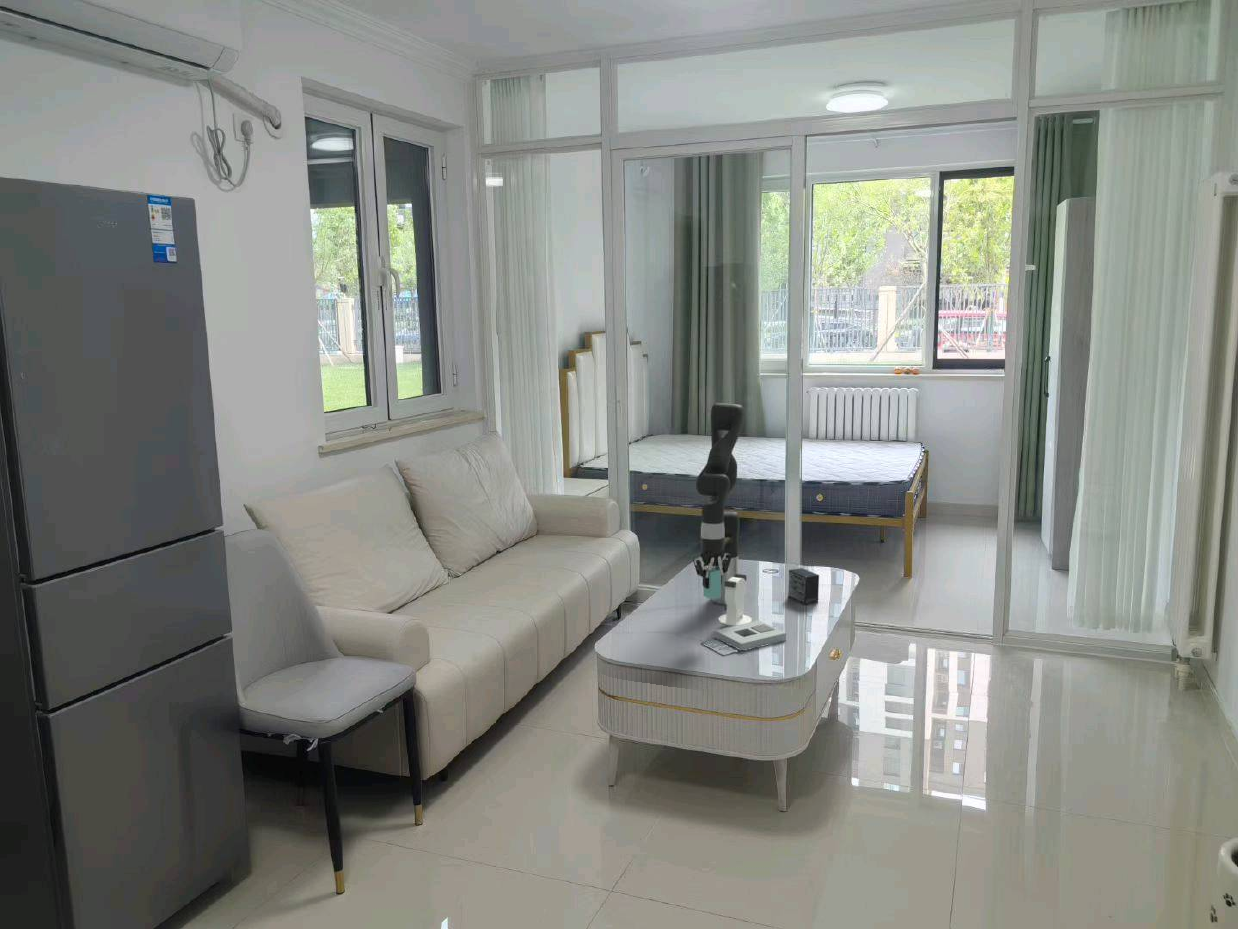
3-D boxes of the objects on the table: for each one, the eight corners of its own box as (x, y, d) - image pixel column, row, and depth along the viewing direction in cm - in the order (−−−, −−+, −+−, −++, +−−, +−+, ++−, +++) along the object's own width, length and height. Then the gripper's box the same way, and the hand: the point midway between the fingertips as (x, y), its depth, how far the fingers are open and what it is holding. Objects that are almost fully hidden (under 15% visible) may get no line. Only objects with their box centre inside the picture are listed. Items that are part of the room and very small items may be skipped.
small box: (819, 602, 336) (820, 574, 335) (804, 605, 334) (805, 577, 332) (801, 594, 346) (802, 567, 344) (787, 597, 343) (788, 569, 341)
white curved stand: (726, 612, 327) (726, 571, 325) (757, 617, 322) (757, 575, 319) (713, 622, 317) (713, 580, 314) (744, 628, 312) (745, 584, 309)
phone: (723, 657, 288) (723, 654, 288) (700, 645, 298) (700, 642, 298) (738, 653, 291) (738, 650, 291) (716, 641, 301) (716, 638, 301)
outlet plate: (714, 637, 303) (714, 629, 303) (758, 627, 312) (758, 619, 312) (741, 651, 291) (741, 643, 291) (786, 640, 300) (786, 632, 300)
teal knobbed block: (703, 595, 302) (703, 567, 300) (713, 593, 304) (714, 565, 302) (710, 599, 298) (710, 570, 296) (720, 597, 300) (721, 568, 298)
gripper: (724, 530, 304) (723, 580, 307) (687, 535, 297) (687, 587, 300) (737, 535, 297) (737, 586, 300) (700, 541, 291) (700, 593, 294)
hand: (712, 586), depth 300 cm, fingers closed on teal knobbed block, 4 cm apart
